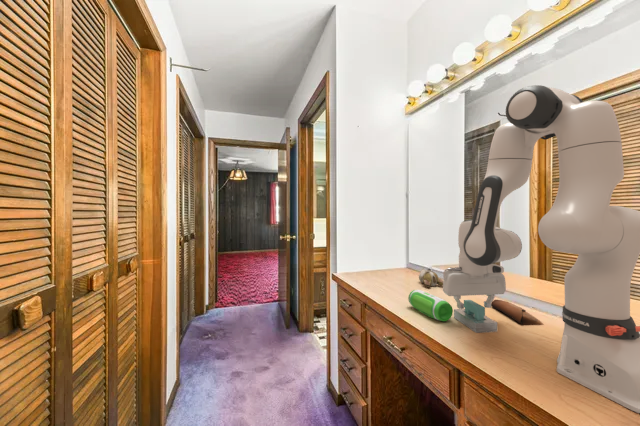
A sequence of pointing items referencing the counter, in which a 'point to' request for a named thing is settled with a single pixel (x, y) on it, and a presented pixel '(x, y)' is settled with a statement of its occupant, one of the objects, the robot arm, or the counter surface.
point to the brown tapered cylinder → (515, 312)
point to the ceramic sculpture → (429, 278)
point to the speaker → (430, 305)
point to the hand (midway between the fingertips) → (474, 307)
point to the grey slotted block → (475, 322)
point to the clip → (474, 309)
